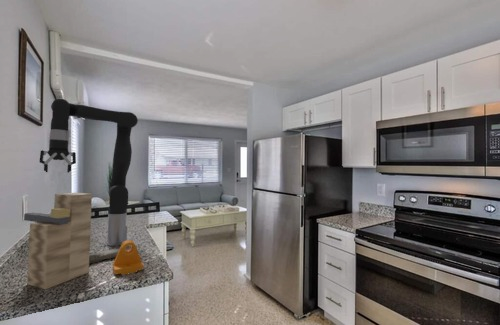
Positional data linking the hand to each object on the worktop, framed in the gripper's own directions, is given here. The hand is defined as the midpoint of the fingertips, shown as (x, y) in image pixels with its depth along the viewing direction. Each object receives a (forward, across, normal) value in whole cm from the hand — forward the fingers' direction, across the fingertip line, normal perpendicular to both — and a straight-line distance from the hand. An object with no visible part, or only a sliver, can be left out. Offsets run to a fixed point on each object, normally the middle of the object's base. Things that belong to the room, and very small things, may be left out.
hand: (57, 172), depth 124 cm
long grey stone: (+41, +16, -20) cm, 48 cm away
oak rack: (+40, 0, -34) cm, 53 cm away
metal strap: (+18, -4, -33) cm, 38 cm away
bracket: (+40, +23, -42) cm, 63 cm away
